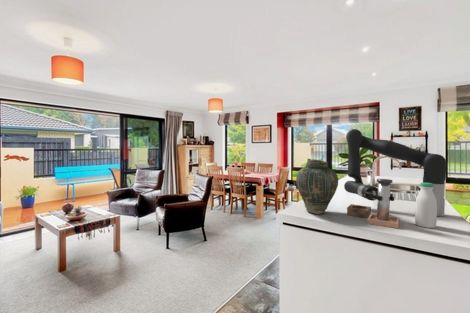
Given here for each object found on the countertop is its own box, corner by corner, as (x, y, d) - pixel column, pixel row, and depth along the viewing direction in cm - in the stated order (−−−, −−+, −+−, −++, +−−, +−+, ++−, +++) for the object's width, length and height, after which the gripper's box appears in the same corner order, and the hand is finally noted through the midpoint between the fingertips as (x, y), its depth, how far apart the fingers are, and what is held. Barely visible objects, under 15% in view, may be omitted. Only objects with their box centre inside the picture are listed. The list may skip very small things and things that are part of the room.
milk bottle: (437, 229, 104) (439, 184, 104) (416, 226, 108) (417, 183, 108) (434, 225, 111) (436, 182, 110) (414, 222, 115) (415, 181, 114)
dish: (399, 222, 115) (399, 217, 115) (397, 228, 105) (398, 223, 105) (370, 217, 122) (371, 213, 122) (367, 223, 112) (367, 218, 112)
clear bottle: (391, 218, 114) (392, 179, 114) (390, 222, 109) (392, 181, 108) (376, 216, 118) (377, 178, 117) (374, 219, 113) (375, 179, 112)
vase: (289, 213, 129) (290, 158, 128) (302, 205, 147) (303, 157, 147) (333, 220, 117) (334, 160, 116) (341, 211, 135) (342, 158, 134)
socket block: (370, 214, 129) (371, 206, 129) (368, 218, 121) (368, 210, 121) (350, 211, 135) (351, 204, 135) (347, 214, 127) (347, 207, 127)
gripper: (354, 184, 128) (371, 190, 111) (381, 185, 127) (403, 191, 110) (354, 198, 128) (371, 206, 111) (381, 199, 127) (402, 207, 110)
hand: (387, 198), depth 111 cm, fingers closed on clear bottle, 5 cm apart
